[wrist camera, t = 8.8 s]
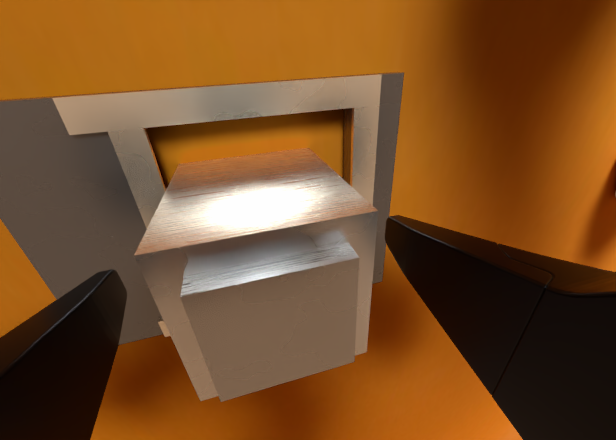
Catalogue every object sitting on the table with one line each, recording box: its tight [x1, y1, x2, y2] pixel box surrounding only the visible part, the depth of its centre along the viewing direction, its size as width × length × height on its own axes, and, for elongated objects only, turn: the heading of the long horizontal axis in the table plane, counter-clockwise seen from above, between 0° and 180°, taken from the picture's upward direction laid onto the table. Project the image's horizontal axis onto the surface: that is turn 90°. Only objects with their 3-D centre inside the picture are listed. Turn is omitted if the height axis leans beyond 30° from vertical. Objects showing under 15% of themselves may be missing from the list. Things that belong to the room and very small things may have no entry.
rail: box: [0, 73, 404, 345], centre depth 10 cm, size 24×10×1 cm, turn 93°
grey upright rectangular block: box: [134, 148, 378, 402], centre depth 9 cm, size 5×5×7 cm
